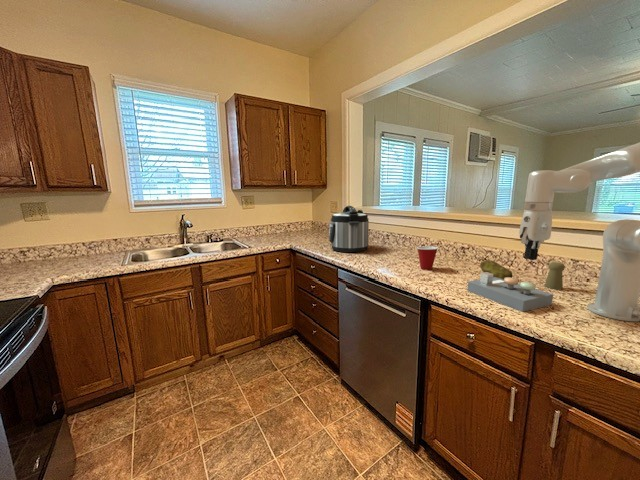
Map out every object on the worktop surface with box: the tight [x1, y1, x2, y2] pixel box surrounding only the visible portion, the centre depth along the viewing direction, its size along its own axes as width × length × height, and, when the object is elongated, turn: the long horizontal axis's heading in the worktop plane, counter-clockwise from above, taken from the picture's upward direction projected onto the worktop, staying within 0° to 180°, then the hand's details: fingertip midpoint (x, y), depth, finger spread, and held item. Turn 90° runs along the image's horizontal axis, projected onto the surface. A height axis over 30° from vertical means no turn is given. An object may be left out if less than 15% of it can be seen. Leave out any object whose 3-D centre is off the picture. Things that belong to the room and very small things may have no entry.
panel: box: [466, 277, 554, 313], centre depth 105 cm, size 22×16×4 cm
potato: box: [480, 259, 513, 280], centre depth 129 cm, size 8×13×8 cm, turn 26°
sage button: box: [519, 281, 537, 296], centre depth 98 cm, size 4×4×4 cm
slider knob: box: [479, 272, 493, 284], centre depth 108 cm, size 3×3×4 cm
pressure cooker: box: [328, 205, 370, 253], centre depth 194 cm, size 30×28×32 cm
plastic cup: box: [416, 245, 439, 271], centre depth 145 cm, size 11×11×12 cm
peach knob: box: [504, 277, 519, 290], centre depth 103 cm, size 4×4×4 cm
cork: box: [544, 261, 566, 291], centre depth 114 cm, size 6×6×11 cm
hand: (530, 258), depth 96 cm, fingers closed
